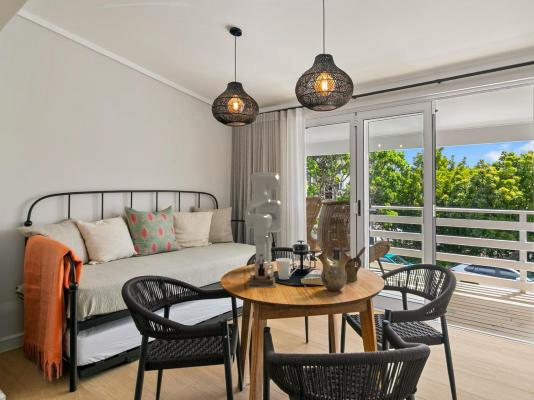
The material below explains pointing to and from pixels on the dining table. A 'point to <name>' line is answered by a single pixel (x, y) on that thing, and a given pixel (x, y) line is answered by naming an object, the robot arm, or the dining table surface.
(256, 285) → the jug stand
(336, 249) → the coffee can
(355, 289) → the dining table surface
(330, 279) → the ceramic vessel
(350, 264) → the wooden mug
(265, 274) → the jug
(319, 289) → the dining table surface
